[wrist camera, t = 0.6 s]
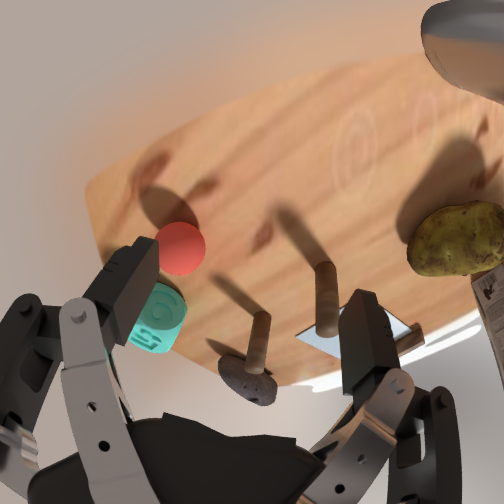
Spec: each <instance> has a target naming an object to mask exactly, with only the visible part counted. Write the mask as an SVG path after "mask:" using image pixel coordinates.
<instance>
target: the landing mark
mask: <svg viewBox="0 0 504 504" xmlns="http://www.w3.org/2000/svg"><path fill="white" fill-rule="evenodd" d="M379 306H380V305H379ZM344 307H345V306H344ZM344 307H343V308H341V309H340V314H341V312H342V311H343V309H344ZM383 309H384V308H383ZM384 310H385V309H384ZM385 312H386V313H387V315H388V316H389V320H390V323H391V329H392V331H393V335H394V336H393V338H394V340H395V341H396V340H397V339H399V338H401V337H403V336H405V335H406V334H408V333H410V332H411V331H412V329H410V328H409V327H408V326H406V325H405V324H404V323H402V322H401V321H400V320H399V319H397V318H396V317H395V316H393V315H392V314H391V313H389V312H388V311H387V310H385ZM296 338H298V339H300V340H302V341H304V342H306V343H308V344H310V345H312V346H314V347H316V348H318V349H320V350H322V351H324V352H326V353H328V354H331V355H333V356H335V357H337V358H339V359H341V355H340V343H339V334H338V335H337V336H335V337H332V338H322V337H319V336H318V335H317V334H316V332H315V325H314V326H312V327H311V328H309V329H307V330H306V331H304V332H302V333H301V334H299V335H297V336H296Z"/></svg>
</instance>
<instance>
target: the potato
mask: <svg viewBox="0 0 504 504" xmlns="http://www.w3.org/2000/svg"><path fill="white" fill-rule="evenodd" d="M407 261H408V262H409V264H410V266H411V268H412V269H413V270H414V271H415V272H416V273H417V274H419V275H422V276H429V277H440V276H451V275H463V276H467V275H468V274H474V273H477V272H480V271H486V270H489V269H492V268H494V267H496V266H498V265H500V264H501V263H503V261H504V209H503V208H501V206H499V205H497V204H494V203H490V202H484V201H478V200H477V201H472V202H469V203H466V204H463V205H461V206H446V207H444V208H441V209H440V210H438V211H436V212H434V213H433V214H432V215H430V216H429V217H427V218H426V219H425V220H424V221H423V222H422V223H421V224H420V226H419V227H418V228H417V230H416V231H415V233H414V235H413V236H412V238H411V240H410V242H409V244H408V247H407Z"/></svg>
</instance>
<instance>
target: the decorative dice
mask: <svg viewBox="0 0 504 504" xmlns="http://www.w3.org/2000/svg"><path fill="white" fill-rule="evenodd" d="M186 313H187V306H186V304H185V302H184V300H183V298H182V297H181V296H180V294H179V293H178V292H176V291H175V290H174V289H173V288H171V287H169V286H167V285H165V284H162V283H159V282H156V285H155V286H154V288H153V290H152V292H151V294H150V296H149V298H148V300H147V302H146V304H145V306H144V307H143V309H142V311H141V313H140V315H139V317H138V319H137V321H136V323H135V325H134V327H133V329H132V331H131V333H130V336H129V338H128V340H129V341H130V342H131V343H133V344H134V345H136V346H138V347H139V348H141V349H144V350H146V351H150V352H153V353H164V352H167V351H169V349H170V348H171V346H172V345H173V343H174V341H175V339H176V337H177V335H178V333H179V331H180V328H181V326H182V324H183V321H184V319H185V316H186Z"/></svg>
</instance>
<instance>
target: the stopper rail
mask: <svg viewBox="0 0 504 504" xmlns="http://www.w3.org/2000/svg"><path fill="white" fill-rule="evenodd" d="M395 344H396V348H397V353H398V357H401V356H403V355H405V354H407V353H409V352H411V351H412V350H414V349H416V348H418V347H420V346H422V345H423V344H425V340H424V336H423V332H422V331H421V330H420V329H418V330H417V331H415V332H413V333H412V334H410V335H408V336H406V337H405V338H403V339H401V340H399V341H397V342H396V343H395Z"/></svg>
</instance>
